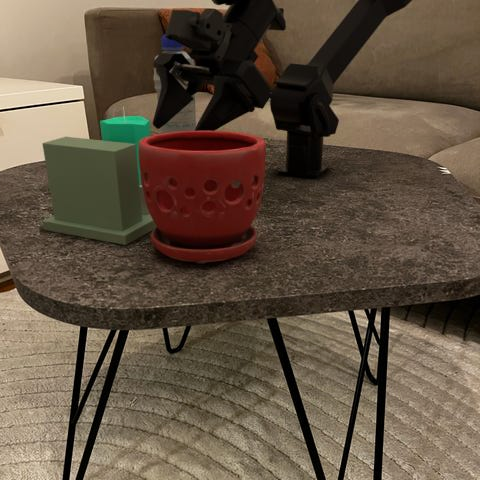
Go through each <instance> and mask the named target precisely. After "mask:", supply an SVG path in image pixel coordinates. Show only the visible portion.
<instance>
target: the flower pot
mask: <svg viewBox="0 0 480 480" xmlns="http://www.w3.org/2000/svg"><path fill="white" fill-rule="evenodd" d="M266 161H267V143H266V141H265V140H264V139H263V138H261V137H260V136H256V135H253V134H249V133H244V132H236V131H225V130H224V131H223V130H215V131H181V132H170V133H163V134H160V133H157V134H152V135H151V136H148V137H145V138H143V139H142V140H140V141H139V167H140V175H141V184H142V188H143V192H144V197H145V202H146V205H147V208H148V210H149V213H150V215H151V217H152V219H153V221H154V223H155V224H156V226H157V227H156V228H155V229H154V230H152V231H151V233H150V239H151V243H152V245H153V246H154V248H156V249H157V251H159V252H160V253H162V254H163V255H164V256H167V257H169V258H171V259H175V260H177V261H182V262H188V263H189V262H190V263H196V264H197V265H204V264H206V263H214V262H222V261H226V260H231V259H235V258H237V257H240V256H242V255H244V254H245V253H246V252H248V251H249V250H250V249H251V248H252V247H253V246H254V245H255V243H256V240H257V238H258V232H257V230H256V228H255V227H254V226H252V224H253V223H254V220H255V218H256V216H257V215H258V211H259V209H260V206H261V202H262V198H263V192H264V186H265V178H266V165H267V163H266ZM234 182H239V184H238V186H236V187H235V186H234V184H233V183H234Z"/></svg>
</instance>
